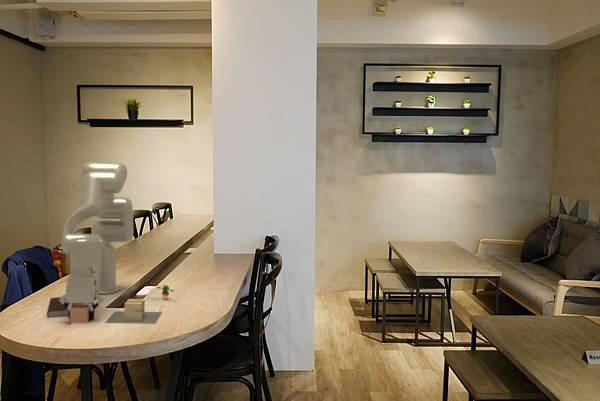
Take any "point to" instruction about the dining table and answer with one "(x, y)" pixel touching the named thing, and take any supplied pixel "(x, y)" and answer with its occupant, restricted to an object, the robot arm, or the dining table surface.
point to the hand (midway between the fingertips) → (81, 320)
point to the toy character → (165, 290)
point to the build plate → (147, 319)
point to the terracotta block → (79, 313)
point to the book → (57, 308)
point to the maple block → (134, 309)
